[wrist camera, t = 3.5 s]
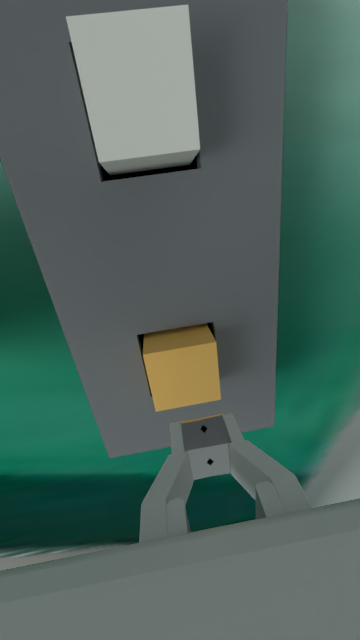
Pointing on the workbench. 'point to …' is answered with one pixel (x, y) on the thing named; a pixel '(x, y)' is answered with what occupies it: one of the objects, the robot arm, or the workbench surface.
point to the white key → (138, 86)
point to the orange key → (182, 366)
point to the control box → (154, 211)
